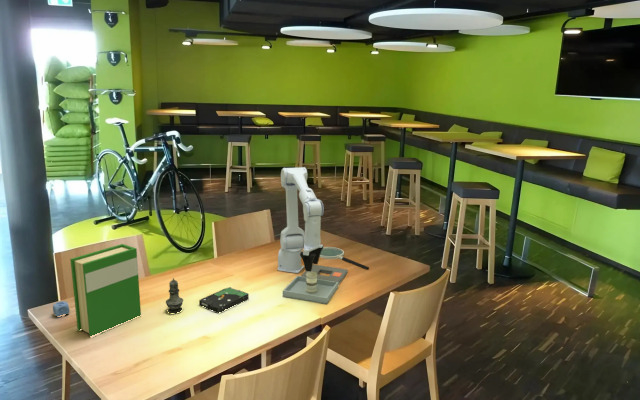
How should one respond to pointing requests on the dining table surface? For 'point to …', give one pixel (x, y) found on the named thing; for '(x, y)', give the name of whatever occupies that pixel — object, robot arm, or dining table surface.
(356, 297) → the dining table surface
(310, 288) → the fuse
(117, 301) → the hardback book
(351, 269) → the dining table surface
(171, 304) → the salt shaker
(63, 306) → the decorative dice
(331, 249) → the magnifying glass
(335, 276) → the fuse holder
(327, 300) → the parts tray
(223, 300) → the disk drive
